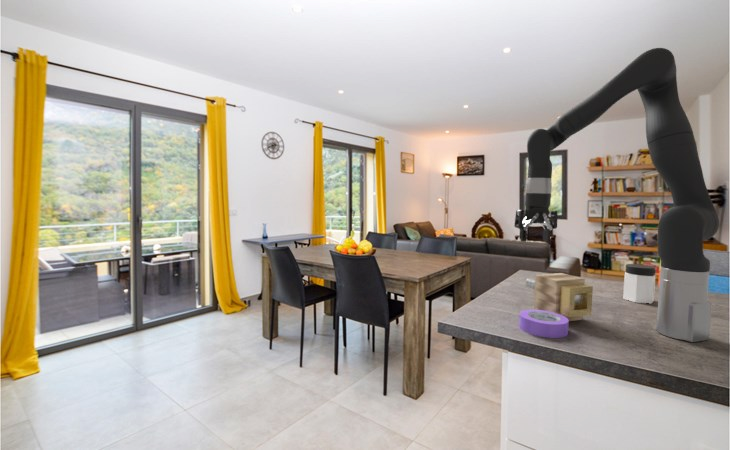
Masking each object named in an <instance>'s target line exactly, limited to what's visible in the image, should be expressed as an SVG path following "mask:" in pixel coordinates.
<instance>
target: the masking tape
mask: <svg viewBox="0 0 730 450" xmlns="http://www.w3.org/2000/svg"><path fill="white" fill-rule="evenodd" d="M518 321H519V322H518V323H519V324H518V327H519V329H520V330H522V331H523V332H525V333H528V334H530V335H532V336H535V337H540V338H541V337H542V338H550V339H551V338H552V339H556V338H557V339H559V338H564V337H567V336H568V334H569V326H570V325H569V322H570V321H569V320H568V319H567V318H566V317H565V316H563V315H560V314H557V313H554V312H550V311H544V310H534V309H523V310H521V311H520V312H519V320H518Z"/></svg>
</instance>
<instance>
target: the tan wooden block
mask: <svg viewBox="0 0 730 450" xmlns="http://www.w3.org/2000/svg"><path fill="white" fill-rule="evenodd" d="M534 276H535V277H534V279H535V289H534V296H533V297H534V299H533V310H544V311H550V312H554V313H557V314H560V296H561V286H563V285H575V284H585V278H584V277H579V276H576V275H571V274H567V273H563V272H558V273H546V274H543V273H541V274H535V275H534ZM574 306H578V303H575V302H574ZM560 315H562V314H560ZM563 316H564V315H563ZM565 317H566V318H567V319H568V320H569V322H572V321H573V322H574V321H581V320H584V319H583V318H584V315H583V316H574V317H567V316H565Z"/></svg>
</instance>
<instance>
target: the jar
mask: <svg viewBox="0 0 730 450" xmlns="http://www.w3.org/2000/svg"><path fill="white" fill-rule="evenodd" d="M656 273H657V269H656V267H655V266H652V265H647V264H638V263H627V264H626V265H625V272H624V280H623V298H622V299H623V300H625V301H628V300H629V302H632V303H635V302H636V304H646V303H649V304H648V305H651V304H653V303H654V300H655V289H656Z"/></svg>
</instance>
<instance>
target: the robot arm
mask: <svg viewBox="0 0 730 450" xmlns="http://www.w3.org/2000/svg"><path fill="white" fill-rule="evenodd" d="M677 79H678V78H677V64H676V59H675V56H674V54H673V53H672V51H671V50H669V49H667V48H664V47H655V48H650V49H648V50H646V51H643V52H642V53H641V54H639V56H637V57H635V59H633V61H630V63H629V64H628V65H627V66H625V67H624V68H623V69H622V70H621V71H620V72H618V73H617V74H616V75H615V76H614V77H613V78H612V79H610V80H609V81H607V82H606V83H605V84H604V85H603V86H601V87H600V88H598V89H597V90H596V91H595V92H594V93H592V94H591V95H589V96H588V97H587V98H585V99H584V100H582V101H581V102H579V103H578V104H576V105H575V106H574V107H572V108H570V109H569V110H567V111H566V112H564V113H562V114H561V115H560V116H559V117H558V118H557V119H556V121H555V123H553V124H552V125H550V127H548V128H547V129H545V128H538V129H535V130H533V131H532V132H531V133H530V134H529V136H528V138H527V145H526V151H527V161H528V169H527V178H526V179H527V180H526V184H525V185H526V186H525V197H524V198H525V199H524V206H525V209H516V210H515V219H514V226H513V227H514V228H517V229H519V240H520V242H523V243H524V242H525V243H526V242H527V238H528V229H529V227H530V226H531V225H533V224H539V225H541V226H542V228H543V231H542V233H543V234H542V241H543V242H545V243H546V242H547V243H548V242H550V240H551V235H552V230H554V229H557V228H558V210H551V209H550V207H551V199H552V188H553V187H552V184H553V182H552V175H553V163H552V160H551V152H552V151H553V150H555V149H557V148H558V147H560V145H562V144H563V143H564V142H565V141H567V140H568V139H569V138H570V137H572V136H574V135H575V134H576V133H578V132H581V131H582V130H584V129H585V128H586V127H588V126H589V125H591V124H593V123H594V122H596V121H597V120H598V119H600V118H601V116H603V115H604V114H605V113H606V112H607V111H608V110H610V108H611V107H612V106H614V105H615V104H616V103H617V102H619V101H621V99H623V98H625V96H627V95H629V94H631V93H633V92H634V91H636V90H637V91H638V93H639V94H638V95H639V96H640V99H641V101H642V104H643V109H644V113H645V135H646V143H647V147H648V151H649V156H650V160H651V162H652V165H653V166H654V168H655V169H656V171H657V173H658V175H659V176H660V177H661V179H662V180H663V181H664V183H665V184H666V186H667V187H668V189H669V192H670V194H671V197H672V198H671V199H672V201H673V206H672V207H669V208H668V209H666V210H665V211H664V212H663V213H662V214H661V216H660V218H659V220H658V226H657V254H658V257H659V260H660V270H659V283H658V284H659V285H658V286H659V287H658V297H657V298H658V301H657V314H656V315H657V317H656V331H657V332H658V333H659V334H661V335H663V336H666V337H669V338H673V339H677V340H683V341H687V342H690V343H696V342H701V341H702V342H703V341H708V340H710V329H711V319H712V318H711V316H712V303H713V302H711V301H709V300H708V296H709V295H708V293H709V281H710V280H709V279H710V268H711V261H710V260H709V259H708V258H707V257H706V256H705V254H704V250H703V249H704V241H707V240H710V239H712V237H714V236H715V235H716V234H717V233H718V231H719V228H720V219H719V215H718V213H717V210H716V208H715V205H714V203H713V201H712V198H711V196H710V193H709V191H708V189H707V185H706V183H705V178H704V174H703V168H702V164H701V159H700V157H699V151H698V148H697V143H696V139H695V136H694V132H693V128H692V125H691V123H690V120H689V118H688V116H687V114H686V112H685V110H684V108H683V105H682V104H681V101H680V97H679V91H678V82H677ZM524 216H525V217H524Z"/></svg>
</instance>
